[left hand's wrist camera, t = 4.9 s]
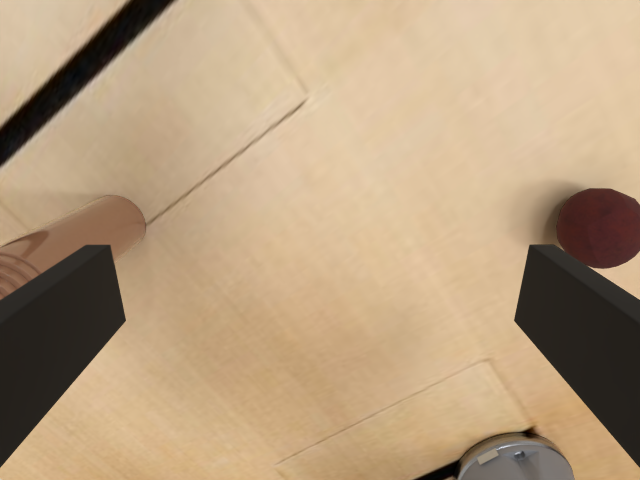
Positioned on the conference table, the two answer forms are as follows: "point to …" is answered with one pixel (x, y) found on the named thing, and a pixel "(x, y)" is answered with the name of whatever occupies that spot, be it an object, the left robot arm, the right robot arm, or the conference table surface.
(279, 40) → the conference table surface
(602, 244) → the dark red rounded piece
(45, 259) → the bottle
